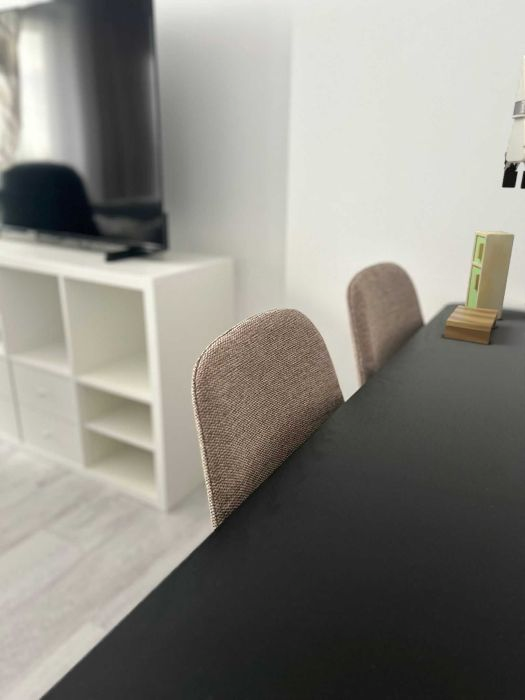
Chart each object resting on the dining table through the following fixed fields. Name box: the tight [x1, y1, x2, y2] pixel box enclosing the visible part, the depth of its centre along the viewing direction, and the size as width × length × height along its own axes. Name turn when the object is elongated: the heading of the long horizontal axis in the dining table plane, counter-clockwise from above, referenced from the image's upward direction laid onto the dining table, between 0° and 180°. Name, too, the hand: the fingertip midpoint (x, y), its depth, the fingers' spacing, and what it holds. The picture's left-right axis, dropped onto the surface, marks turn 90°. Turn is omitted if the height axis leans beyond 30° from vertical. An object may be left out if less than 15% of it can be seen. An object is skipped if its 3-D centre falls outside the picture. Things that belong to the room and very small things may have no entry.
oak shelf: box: [443, 304, 498, 345], centre depth 117 cm, size 16×9×4 cm, turn 151°
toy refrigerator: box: [464, 230, 515, 320], centre depth 129 cm, size 8×7×21 cm
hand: (517, 188), depth 125 cm, fingers open, 9 cm apart
